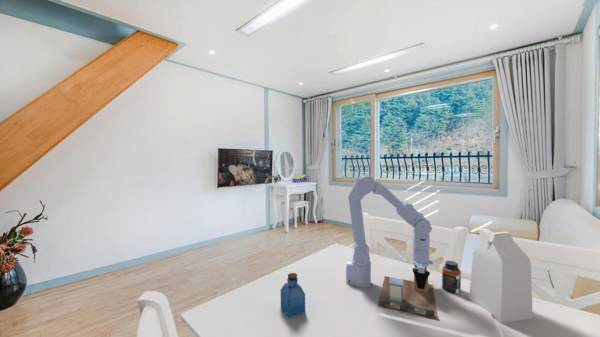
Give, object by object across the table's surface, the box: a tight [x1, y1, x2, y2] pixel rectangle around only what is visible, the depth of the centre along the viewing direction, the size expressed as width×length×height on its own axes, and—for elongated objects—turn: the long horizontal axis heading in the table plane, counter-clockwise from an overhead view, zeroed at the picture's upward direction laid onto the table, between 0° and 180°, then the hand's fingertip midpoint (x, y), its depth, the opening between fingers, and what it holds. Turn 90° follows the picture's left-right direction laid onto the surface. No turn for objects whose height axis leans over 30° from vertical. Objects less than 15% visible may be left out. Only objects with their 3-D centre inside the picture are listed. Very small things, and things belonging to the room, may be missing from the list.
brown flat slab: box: [377, 275, 439, 321], centre depth 90 cm, size 18×23×3 cm
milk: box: [468, 231, 534, 324], centre depth 82 cm, size 12×12×26 cm
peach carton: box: [413, 266, 429, 293], centre depth 94 cm, size 5×4×7 cm
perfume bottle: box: [280, 272, 306, 318], centre depth 83 cm, size 6×6×12 cm
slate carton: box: [389, 276, 404, 302], centre depth 86 cm, size 5×4×7 cm
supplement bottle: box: [441, 260, 462, 295], centre depth 93 cm, size 6×6×11 cm
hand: (420, 283), depth 94 cm, fingers open, 7 cm apart
